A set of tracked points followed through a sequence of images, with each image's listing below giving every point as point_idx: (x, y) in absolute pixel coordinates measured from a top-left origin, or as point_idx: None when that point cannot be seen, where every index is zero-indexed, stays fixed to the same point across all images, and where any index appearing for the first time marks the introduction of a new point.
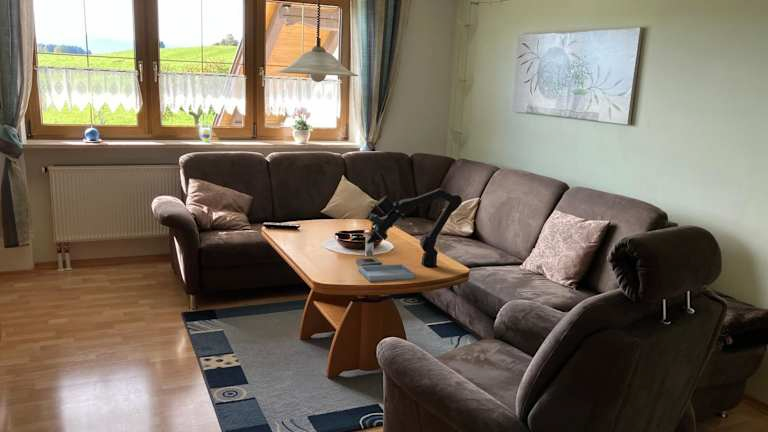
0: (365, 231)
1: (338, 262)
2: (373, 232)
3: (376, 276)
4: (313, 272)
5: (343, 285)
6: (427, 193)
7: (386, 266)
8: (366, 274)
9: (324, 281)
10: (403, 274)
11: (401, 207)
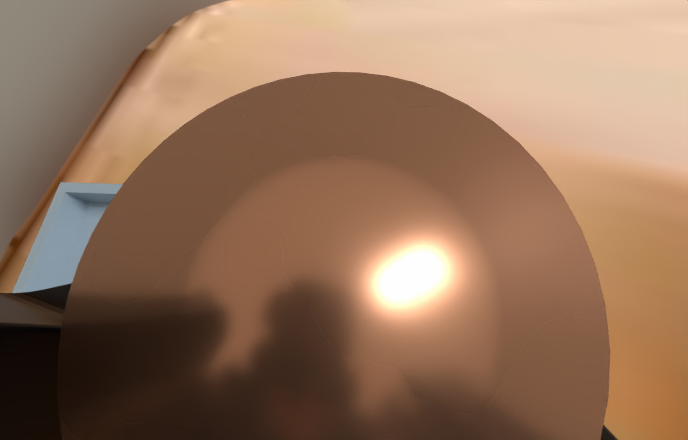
0: (262, 89)
1: None
2: (24, 318)
3: (47, 224)
4: (343, 6)
5: (122, 81)
6: None
7: None
8: (112, 186)
9: (204, 28)
10: None
11: None
